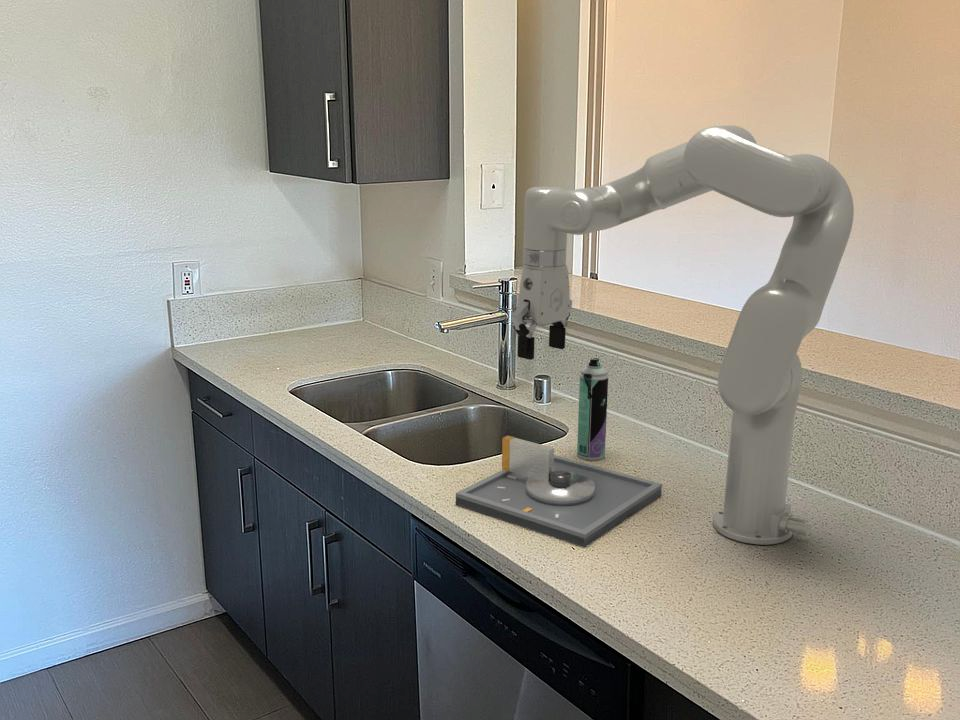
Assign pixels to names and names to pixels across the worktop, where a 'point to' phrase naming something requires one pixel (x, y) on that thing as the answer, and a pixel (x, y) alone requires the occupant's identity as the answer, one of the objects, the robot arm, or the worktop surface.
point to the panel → (568, 523)
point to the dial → (544, 474)
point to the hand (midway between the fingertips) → (541, 352)
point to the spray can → (592, 411)
